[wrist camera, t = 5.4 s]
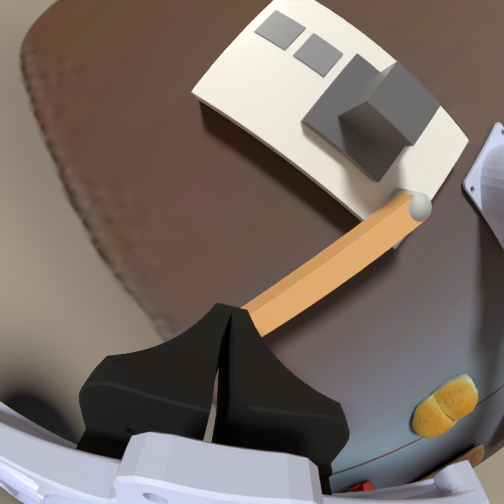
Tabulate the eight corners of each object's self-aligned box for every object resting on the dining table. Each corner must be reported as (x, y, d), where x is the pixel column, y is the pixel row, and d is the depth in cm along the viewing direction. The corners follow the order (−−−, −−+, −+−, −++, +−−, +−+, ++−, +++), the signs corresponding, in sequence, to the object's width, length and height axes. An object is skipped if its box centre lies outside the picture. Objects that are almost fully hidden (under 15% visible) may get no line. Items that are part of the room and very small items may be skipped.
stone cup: (409, 496, 35) (427, 550, 20) (401, 481, 32) (423, 547, 17) (475, 457, 32) (501, 507, 18) (478, 435, 29) (512, 494, 15)
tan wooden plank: (403, 183, 16) (424, 187, 14) (414, 204, 17) (435, 211, 14) (215, 318, 19) (210, 339, 16) (230, 334, 19) (227, 357, 17)
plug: (402, 121, 17) (469, 107, 10) (359, 178, 19) (417, 190, 11) (342, 68, 16) (387, 23, 9) (295, 126, 18) (320, 102, 10)
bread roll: (398, 415, 26) (410, 440, 22) (458, 362, 24) (476, 383, 20) (425, 432, 28) (436, 453, 24) (477, 387, 26) (491, 405, 22)
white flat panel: (449, 140, 18) (469, 140, 15) (380, 239, 20) (395, 249, 18) (285, 3, 15) (289, -15, 12) (198, 100, 17) (190, 91, 15)
